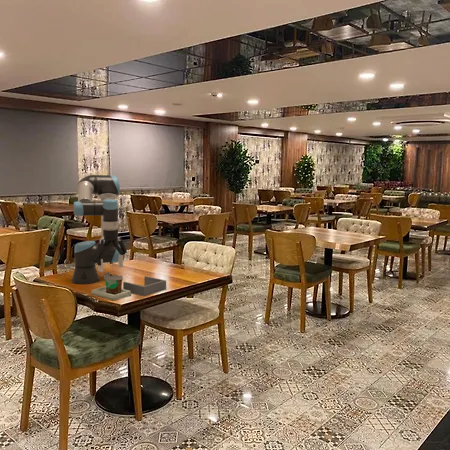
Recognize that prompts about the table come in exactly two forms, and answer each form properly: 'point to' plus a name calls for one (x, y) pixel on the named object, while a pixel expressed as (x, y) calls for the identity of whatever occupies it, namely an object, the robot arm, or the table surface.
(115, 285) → the food container
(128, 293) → the tray
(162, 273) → the table surface
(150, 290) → the bay
